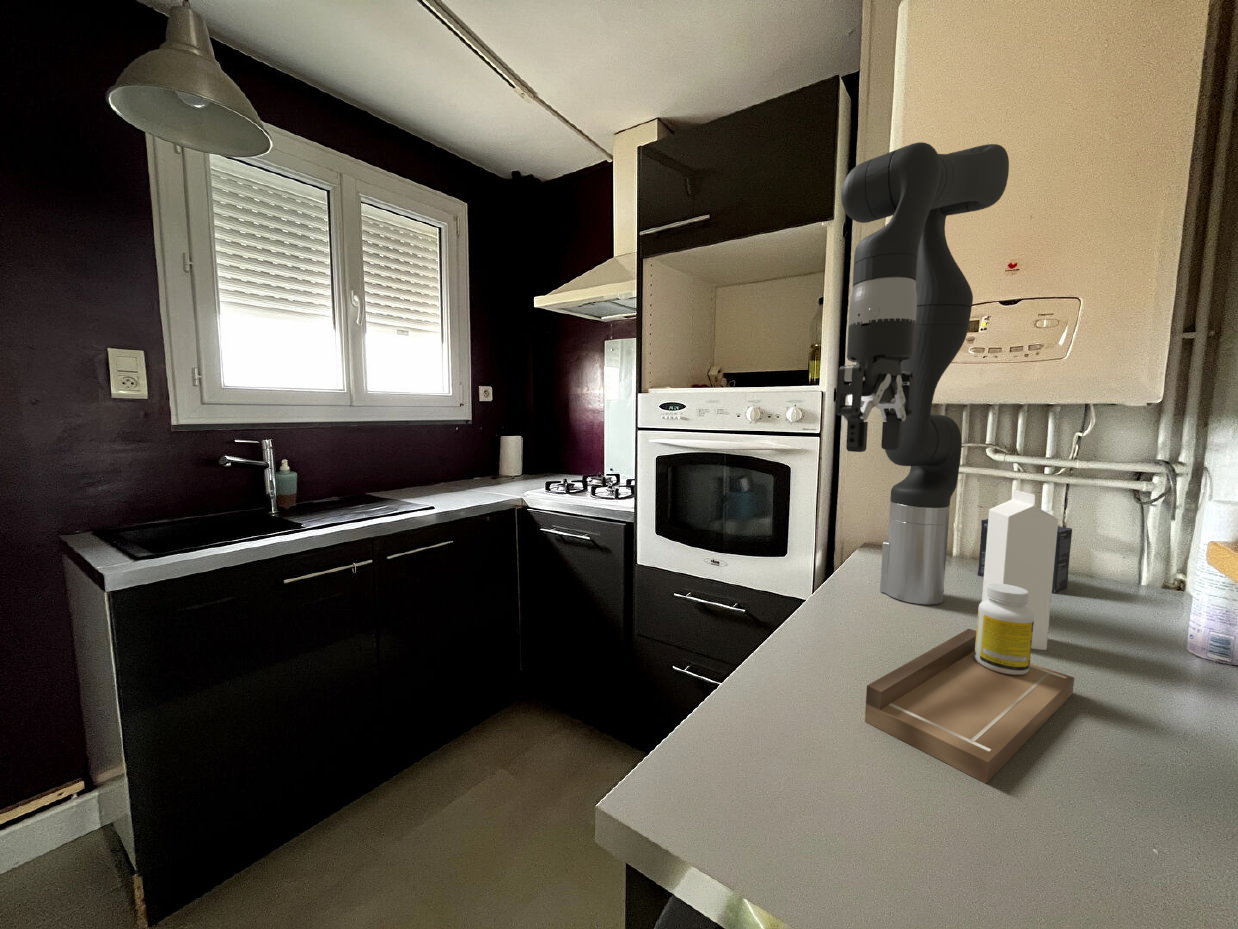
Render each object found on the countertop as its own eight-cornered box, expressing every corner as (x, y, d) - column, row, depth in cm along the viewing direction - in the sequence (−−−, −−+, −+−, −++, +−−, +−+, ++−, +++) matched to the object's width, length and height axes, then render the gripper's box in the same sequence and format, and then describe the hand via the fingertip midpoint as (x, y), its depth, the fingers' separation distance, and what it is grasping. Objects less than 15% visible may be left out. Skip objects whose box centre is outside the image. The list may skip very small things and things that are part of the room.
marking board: (864, 721, 53) (866, 685, 53) (966, 656, 68) (968, 628, 68) (986, 783, 44) (990, 741, 44) (1072, 693, 59) (1075, 661, 59)
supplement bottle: (1039, 679, 58) (1047, 597, 57) (987, 674, 59) (994, 594, 58) (1013, 657, 64) (1019, 582, 63) (965, 653, 65) (971, 579, 64)
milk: (997, 646, 72) (1009, 494, 70) (979, 629, 77) (989, 488, 75) (1048, 651, 70) (1061, 495, 68) (1024, 633, 76) (1036, 489, 74)
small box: (1068, 588, 97) (1074, 527, 96) (1055, 594, 94) (1061, 531, 93) (990, 570, 108) (994, 516, 107) (975, 575, 105) (980, 519, 104)
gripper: (880, 332, 70) (873, 447, 71) (821, 319, 62) (815, 450, 63) (939, 324, 64) (930, 450, 65) (882, 308, 55) (873, 454, 57)
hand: (873, 450), depth 64 cm, fingers open, 8 cm apart
